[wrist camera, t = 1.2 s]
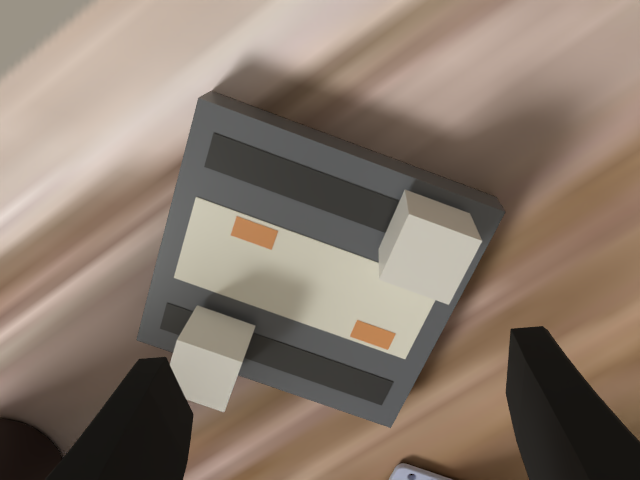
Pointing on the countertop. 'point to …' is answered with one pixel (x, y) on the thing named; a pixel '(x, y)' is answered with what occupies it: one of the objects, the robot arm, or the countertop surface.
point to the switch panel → (301, 257)
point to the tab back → (210, 356)
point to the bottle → (25, 452)
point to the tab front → (427, 247)
